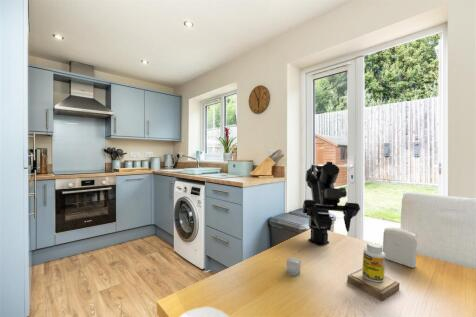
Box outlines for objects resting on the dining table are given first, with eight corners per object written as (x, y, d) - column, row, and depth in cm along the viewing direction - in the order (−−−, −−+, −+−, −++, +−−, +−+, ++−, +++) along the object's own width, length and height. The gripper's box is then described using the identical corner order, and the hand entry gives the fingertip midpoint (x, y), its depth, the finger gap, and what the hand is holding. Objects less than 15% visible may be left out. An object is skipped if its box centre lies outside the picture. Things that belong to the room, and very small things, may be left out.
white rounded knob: (283, 272, 73) (284, 260, 73) (290, 267, 76) (291, 256, 76) (296, 278, 70) (296, 265, 70) (302, 272, 73) (303, 260, 73)
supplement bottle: (359, 276, 67) (361, 243, 67) (366, 270, 71) (367, 239, 71) (380, 285, 63) (382, 250, 63) (386, 278, 67) (388, 245, 66)
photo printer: (380, 257, 85) (382, 226, 84) (384, 254, 88) (386, 223, 87) (413, 269, 77) (416, 234, 76) (417, 265, 80) (419, 232, 79)
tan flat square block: (347, 281, 69) (347, 274, 68) (364, 272, 74) (365, 266, 74) (382, 300, 60) (382, 292, 60) (399, 289, 65) (399, 281, 65)
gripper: (305, 177, 81) (309, 216, 70) (359, 180, 78) (372, 221, 68) (301, 194, 89) (304, 231, 78) (350, 197, 86) (360, 236, 76)
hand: (333, 230), depth 75 cm, fingers open, 9 cm apart
